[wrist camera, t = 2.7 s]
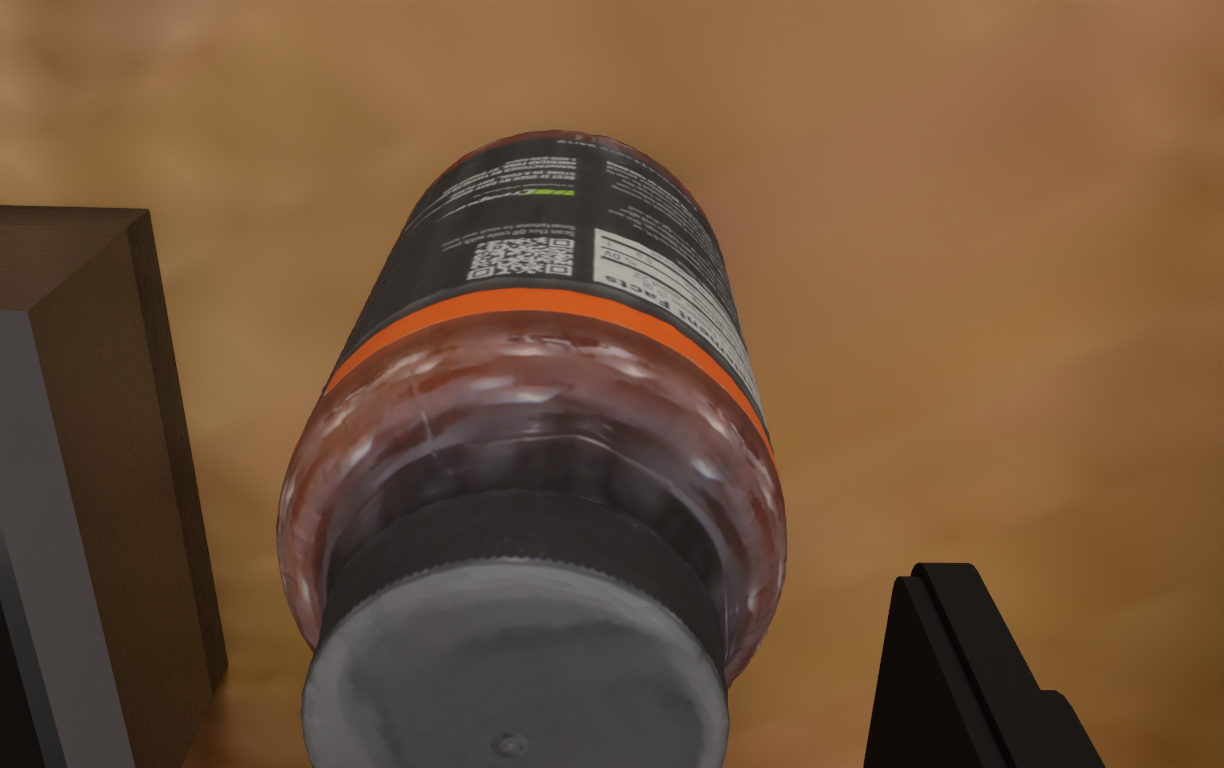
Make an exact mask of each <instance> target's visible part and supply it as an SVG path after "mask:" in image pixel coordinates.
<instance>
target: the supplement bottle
mask: <svg viewBox="0 0 1224 768" xmlns="http://www.w3.org/2000/svg"><path fill="white" fill-rule="evenodd" d="M276 532H277V554H278V560H279V567H280V574H281V578H282V582H283V587H284V592H285V595H286V598H287V601H288V604H289V607H290V610H291V612H292V614H293V616H294V619H295V621H296V624H297V626H298V628H299V630H300V632H301V634H302V636H303V638H304V639H305V641H306V642H307V644H308V645H309V647H310V648H311V650H312V651H313V653H314V655H313V658H312V660H311V663H310V667H309V670H308V674H307V677H306V681H305V684H304V688H303V691H302V709H301V719H302V727H303V736H304V742H305V745H306V748H307V752H308V756H309V759H310V762H311V764H312V766H313V768H722V765H723V761H724V758H725V754H726V747H727V741H728V733H729V721H730V720H729V712H728V688H730V687H731V684H732V682H733V680H734V679H735V678H736V677H737V676H739V675H740V674H741V673H742V671H743V670H744V669H745V667H746V666H747V665H748V664H749V662H750V660H751V658H752V657H753V655H754V654H755V652H756V651H757V650H758V649H759V648H760V646H761V643H762V640H763V638H764V637H765V636H766V635H767V632H768V629H769V625H770V623H771V621H772V618H773V616H774V614H775V611H776V608H777V605H778V602H779V598H780V595H781V591H782V587H783V586H784V580H785V573H786V561H787V530H786V516H785V504H784V498H783V494H782V489H781V484H780V480H779V475H778V471H777V467H776V463H775V459H774V452H773V448H772V445H771V442H770V437H769V432H768V429H767V427H766V423H765V419H764V415H763V411H762V407H761V403H760V399H759V395H758V391H757V387H756V383H755V380H754V376H753V372H752V368H751V365H750V361H749V357H748V354H747V348H746V345H745V342H744V338H743V334H742V330H741V326H740V321H739V318H738V314H737V310H736V307H735V303H734V299H733V295H732V291H731V288H730V284H729V280H728V276H727V273H726V270H725V264H724V260H723V256H722V253H721V251H720V248H719V244H718V241H717V239H716V236H715V234H714V232H713V229H712V228H711V225H710V223H709V221H708V219H707V217H706V215H705V214H704V212H703V210H702V209H701V207H700V206H699V205H698V203H697V202H696V201H695V199H694V198H693V196H692V195H691V193H690V192H689V191H688V190H687V189H686V188H685V187H684V186H683V184H682V183H681V182H680V181H679V180H678V179H677V178H676V177H675V176H674V175H673V174H671V173H670V172H669V171H668V170H667V169H666V168H664V167H663V166H662V165H660V164H659V163H657V162H656V161H654V160H652V159H651V158H650V157H649V156H647V155H645V154H644V153H642V152H640V151H638V150H636V149H635V148H633V147H631V146H629V145H626V144H624V143H622V142H619V141H617V140H614V139H612V138H609V137H605V136H601V135H591V134H586V133H582V132H577V131H562V130H549V131H536V132H527V133H522V134H518V135H515V136H512V137H508V138H503V139H500V140H496V141H493V142H491V143H488V144H487V145H485V146H483V147H481V148H478V149H476V150H474V151H472V152H470V153H468V154H467V155H465V156H463V157H462V158H461V159H459V160H458V161H457V162H455V163H454V164H453V165H452V166H450V167H449V168H448V169H447V170H446V171H445V172H444V173H443V174H441V175H440V176H439V177H438V178H437V179H436V180H435V181H434V182H433V183H432V185H431V186H430V187H429V188H428V189H427V190H426V191H425V193H424V195H423V196H422V197H421V199H420V200H419V201H418V202H417V204H416V205H415V207H414V209H413V211H412V213H411V214H410V216H409V218H408V220H407V222H406V224H405V226H404V228H403V230H402V232H401V234H400V236H399V238H398V240H397V242H396V244H395V245H394V247H393V248H392V250H391V253H390V255H389V256H388V258H387V261H386V263H385V265H384V267H383V269H382V271H381V273H380V275H379V277H378V279H377V281H376V283H375V285H374V287H373V289H372V291H371V294H370V296H369V298H368V300H367V301H366V303H365V306H364V308H363V310H362V312H361V314H360V316H359V318H358V320H357V322H356V324H355V327H354V328H353V330H352V332H351V334H350V335H349V337H348V339H347V342H346V344H345V347H344V349H343V351H342V352H341V354H340V357H339V359H338V361H337V362H336V365H335V367H334V369H333V371H332V373H331V375H330V377H329V380H328V382H327V384H326V385H325V387H324V388H323V391H322V394H321V396H320V398H319V400H318V402H317V404H316V406H315V408H314V410H313V412H312V414H311V416H310V417H309V419H308V421H307V424H306V426H305V428H304V430H303V432H302V435H301V436H300V438H299V440H298V442H297V444H296V446H295V449H294V452H293V455H292V457H291V460H290V463H289V466H288V469H287V472H286V475H285V478H284V482H283V485H282V490H281V495H280V500H279V509H278V518H277V524H276Z"/></svg>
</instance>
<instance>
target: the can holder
mask: <svg viewBox="0 0 1224 768" xmlns="http://www.w3.org/2000/svg"><path fill="white" fill-rule="evenodd" d="M0 601H1V605H2V608H3V612H4V616H5V619H6V623H7V627H8V630H9V634H10V638H11V642H12V645H13V649H14V653H15V656H16V660H17V664H18V667H19V671H20V675H21V678H22V682H23V686H24V690H25V693H26V697H27V701H28V704H29V708H30V712H31V715H32V719H33V723H34V726H35V730H36V734H37V737H38V741H39V745H40V749H41V752H42V756H43V760H44V765H45V768H181V766H182V763H183V761H184V759H185V757H186V755H187V753H188V750H189V748H190V746H191V744H192V742H193V740H194V737H195V735H196V733H197V731H198V729H199V726H200V724H201V722H202V720H203V718H204V716H205V713H206V711H207V709H208V707H209V705H210V703H211V700H212V698H213V696H214V694H215V692H216V689H217V687H218V685H219V683H220V681H221V679H222V676H223V674H224V672H225V670H226V668H227V666H228V663H227V657H226V652H225V646H224V640H223V634H222V629H221V623H220V617H219V611H218V606H217V600H216V594H215V588H214V583H213V577H212V571H211V565H210V560H209V554H208V548H207V542H206V537H205V531H204V525H203V519H202V514H201V508H200V502H199V496H198V491H197V485H196V479H195V473H194V468H193V462H192V456H191V450H190V445H189V439H188V433H187V427H186V422H185V416H184V410H183V404H182V399H181V393H180V387H179V381H178V376H177V370H176V364H175V358H174V353H173V347H172V341H171V335H170V330H169V324H168V318H167V312H166V307H165V301H164V295H163V289H162V284H161V278H160V272H159V266H158V261H157V255H156V249H155V243H154V238H153V232H152V226H151V220H150V215H149V209H130V208H91V207H51V206H12V205H0Z"/></svg>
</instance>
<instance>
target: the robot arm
mask: <svg viewBox="0 0 1224 768" xmlns="http://www.w3.org/2000/svg"><path fill="white" fill-rule="evenodd" d="M0 768H45V765H44V760H43V756H42V752H41V749H40V745H39V741H38V737H37V734H36V730H35V726H34V723H33V719H32V715H31V712H30V708H29V704H28V701H27V697H26V693H25V690H24V686H23V682H22V678H21V675H20V671H19V667H18V664H17V660H16V656H15V653H14V649H13V645H12V642H11V638H10V634H9V630H8V627H7V623H6V619H5V616H4V612H3V608H2V605H1V601H0ZM863 768H1106V767H1105V766H1104V764H1103V762H1102V760H1101V758H1100V757H1099V755H1098V753H1097V751H1096V749H1095V748H1094V746H1093V744H1092V742H1091V740H1090V739H1089V737H1088V735H1087V733H1086V731H1085V730H1084V728H1083V726H1082V724H1081V722H1080V721H1079V719H1078V717H1077V715H1076V713H1075V712H1074V710H1073V708H1072V706H1071V705H1070V704H1069V702H1068V701H1067V700H1066V698H1065V697H1064V695H1062V694H1060V693H1059V692H1057V691H1055V690H1040V688H1039V686H1038V684H1037V682H1036V680H1035V679H1034V677H1033V675H1032V673H1031V671H1030V669H1029V667H1028V665H1027V663H1026V662H1025V660H1024V658H1023V656H1022V654H1021V652H1020V650H1019V648H1018V646H1017V645H1016V643H1015V641H1014V639H1013V637H1012V635H1011V633H1010V631H1009V629H1008V628H1007V626H1006V624H1005V622H1004V620H1003V618H1002V616H1001V614H1000V613H999V611H998V609H997V607H996V605H995V603H994V601H993V599H992V597H991V596H990V594H989V592H988V590H987V588H986V586H985V584H984V582H983V580H982V579H981V577H980V575H979V573H978V571H977V570H976V568H975V567H974V566H973V565H972V564H970V563H917V564H916V565H915V566H914V568H913V570H912V572H911V576H910V577H909V576H899V577H897V578H896V580H895V582H894V586H893V591H892V597H891V603H890V609H889V615H888V621H887V627H886V633H885V639H884V645H883V651H882V657H881V663H880V669H879V675H878V681H877V687H876V693H875V699H874V705H873V711H872V717H871V723H870V729H869V735H868V741H867V747H866V753H865V759H864V767H863Z"/></svg>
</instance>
